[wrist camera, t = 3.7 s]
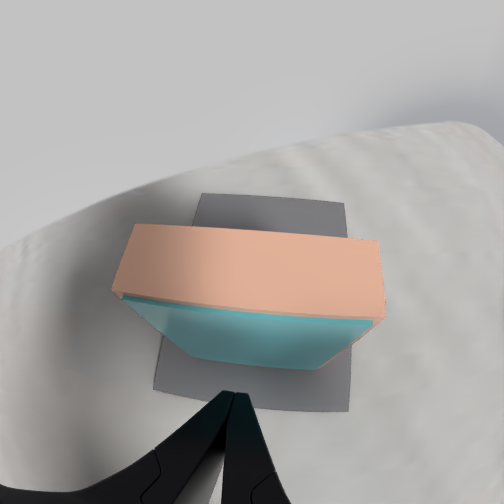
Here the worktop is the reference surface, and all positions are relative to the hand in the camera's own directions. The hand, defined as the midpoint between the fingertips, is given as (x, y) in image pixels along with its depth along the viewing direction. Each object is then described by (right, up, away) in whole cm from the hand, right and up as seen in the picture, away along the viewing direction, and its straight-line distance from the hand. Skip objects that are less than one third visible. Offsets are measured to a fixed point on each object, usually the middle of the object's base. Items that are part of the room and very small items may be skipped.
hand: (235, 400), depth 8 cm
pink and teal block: (+1, -1, +8) cm, 9 cm away
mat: (+1, +2, +11) cm, 11 cm away
